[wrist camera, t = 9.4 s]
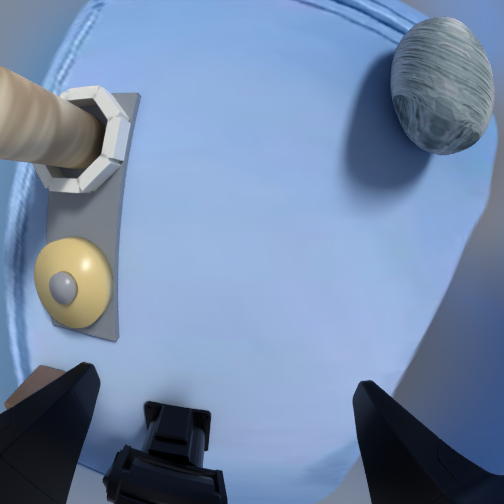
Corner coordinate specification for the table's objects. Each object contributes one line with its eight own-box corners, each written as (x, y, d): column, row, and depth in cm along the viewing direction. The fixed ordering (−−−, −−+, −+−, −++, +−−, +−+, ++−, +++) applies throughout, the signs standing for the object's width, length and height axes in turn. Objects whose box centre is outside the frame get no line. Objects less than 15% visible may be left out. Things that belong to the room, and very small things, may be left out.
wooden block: (66, 370, 22) (29, 415, 14) (76, 398, 23) (46, 445, 15) (39, 363, 22) (1, 402, 14) (50, 391, 23) (18, 432, 15)
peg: (107, 162, 18) (-22, 130, 5) (62, 175, 18) (-66, 168, 5) (105, 109, 17) (-3, 39, 4) (61, 125, 17) (-53, 85, 4)
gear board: (119, 337, 22) (103, 357, 18) (48, 318, 21) (28, 333, 17) (141, 95, 18) (125, 79, 14) (62, 100, 17) (40, 89, 14)
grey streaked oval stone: (465, 193, 18) (522, 123, 8) (367, 145, 21) (381, 51, 12) (474, 99, 19) (500, 34, 10) (398, 64, 22) (407, -8, 13)
